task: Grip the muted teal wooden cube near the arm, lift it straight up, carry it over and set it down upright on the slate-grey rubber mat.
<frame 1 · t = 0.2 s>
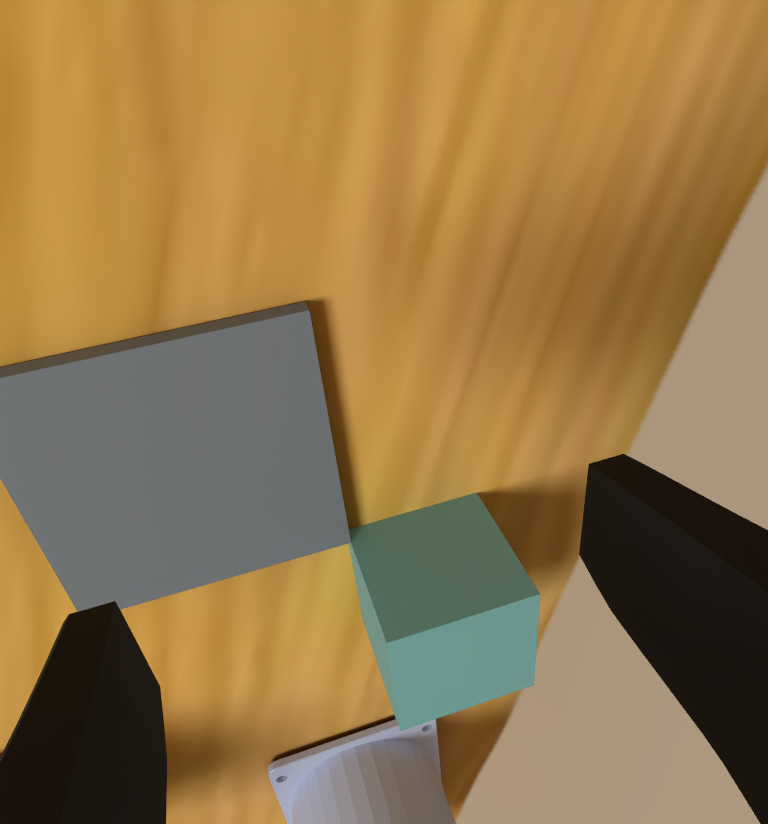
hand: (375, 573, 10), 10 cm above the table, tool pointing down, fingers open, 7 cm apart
slate mat: (184, 467, 20), on the table
teal cube: (416, 556, 25), on the table
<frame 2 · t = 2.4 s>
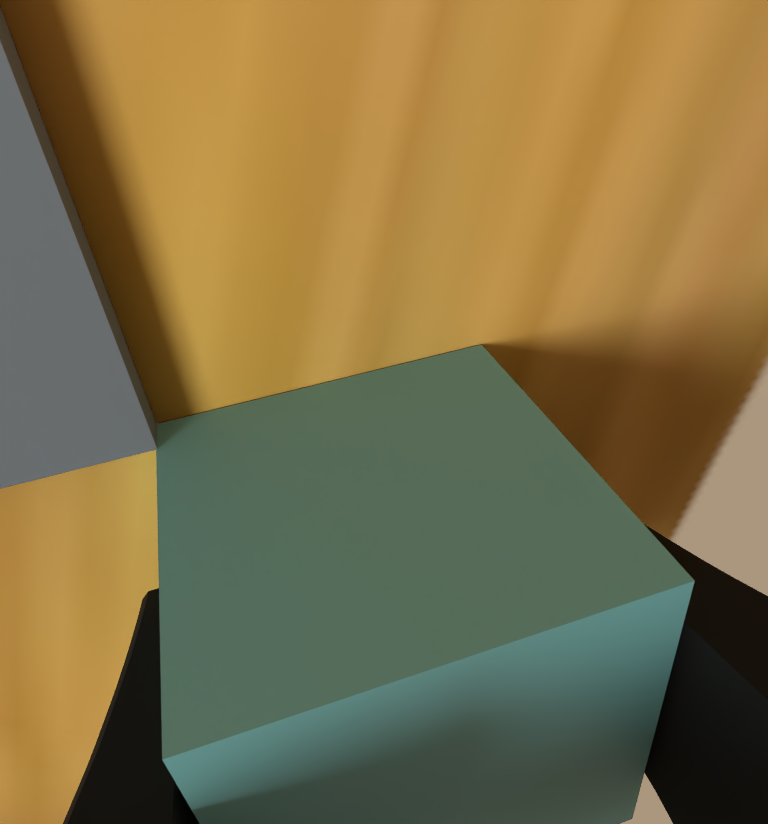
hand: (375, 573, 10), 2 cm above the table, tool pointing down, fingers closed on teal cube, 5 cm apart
teal cube: (348, 504, 11), on the table, touching gripper
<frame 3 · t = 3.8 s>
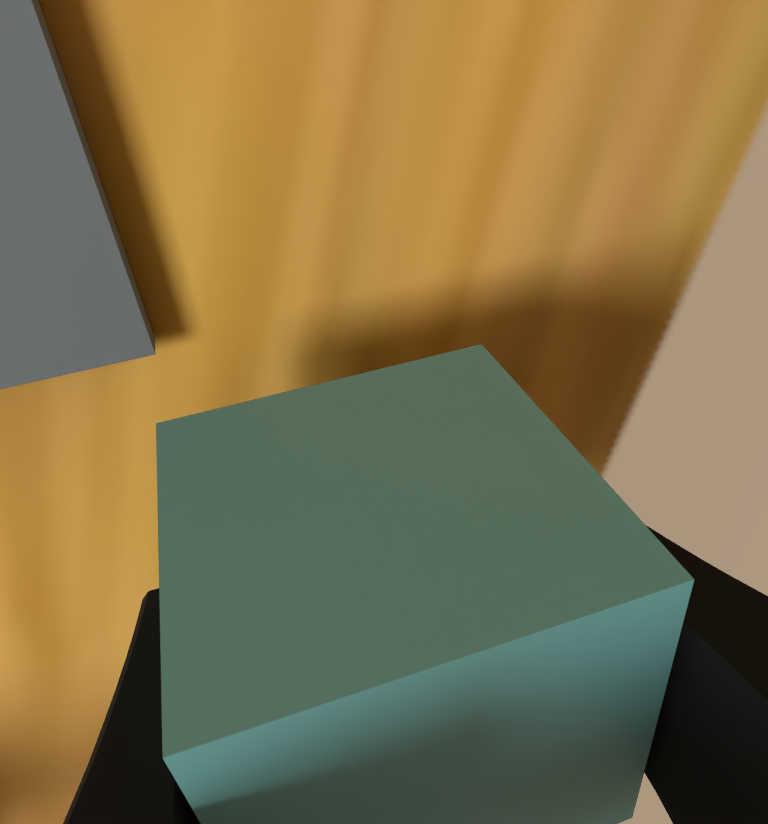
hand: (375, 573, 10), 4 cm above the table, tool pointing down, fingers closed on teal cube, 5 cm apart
teal cube: (348, 504, 11), point 3 cm above the table, touching gripper
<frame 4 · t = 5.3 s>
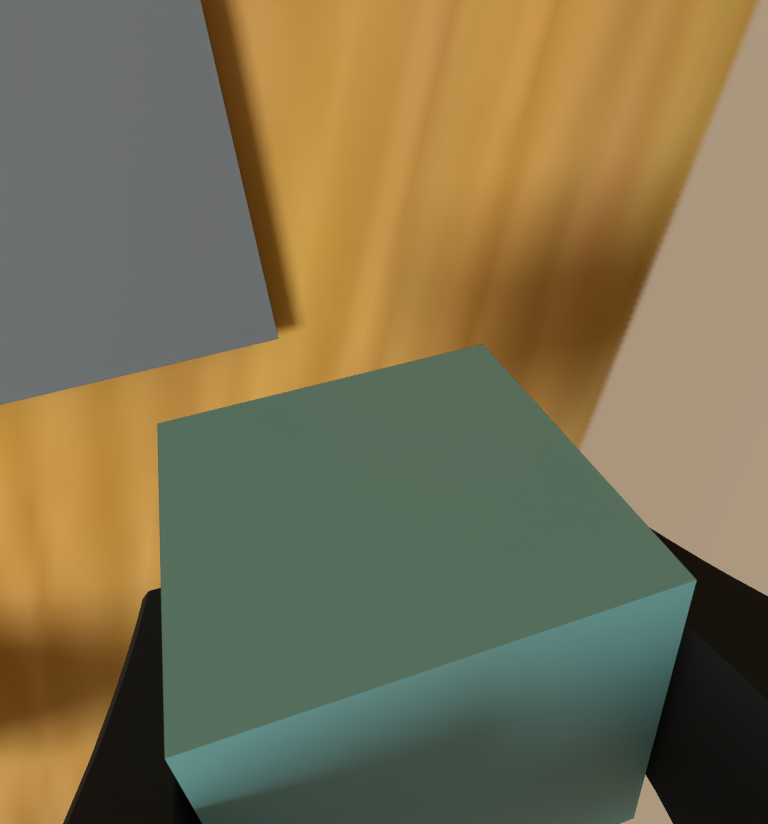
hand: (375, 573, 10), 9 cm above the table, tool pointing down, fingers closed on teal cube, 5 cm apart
slate mat: (13, 184, 13), on the table
teal cube: (349, 504, 11), point 7 cm above the table, touching gripper
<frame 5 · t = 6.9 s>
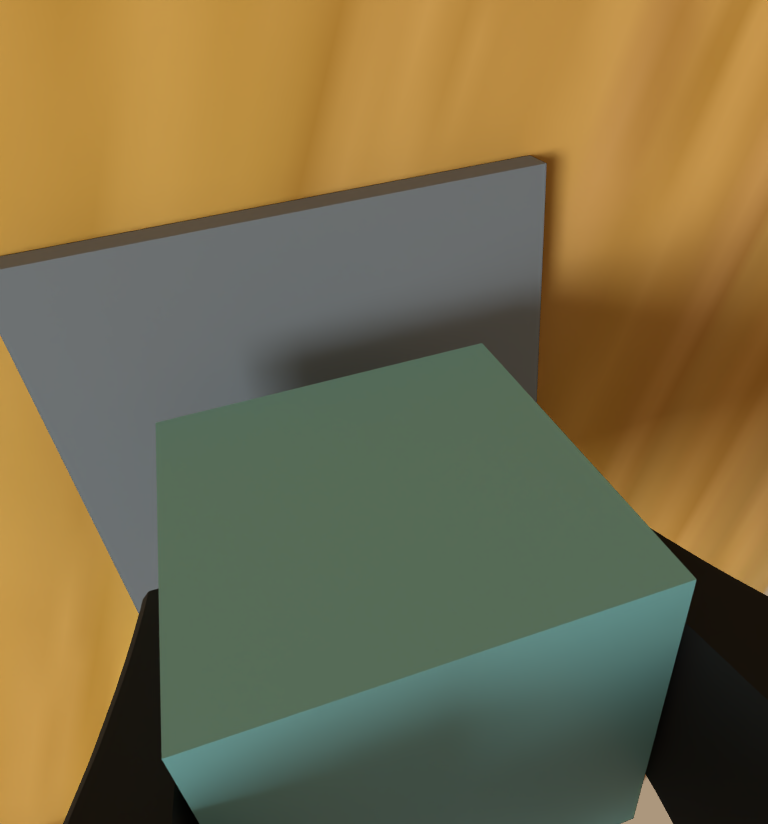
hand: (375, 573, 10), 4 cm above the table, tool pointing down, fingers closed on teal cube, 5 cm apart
slate mat: (319, 426, 13), on the table
teal cube: (348, 503, 11), point 2 cm above the table, touching gripper
when the fingers open (3 cm above the table, at t = 8.0 s): teal cube drops 1 cm, resting on slate mat.
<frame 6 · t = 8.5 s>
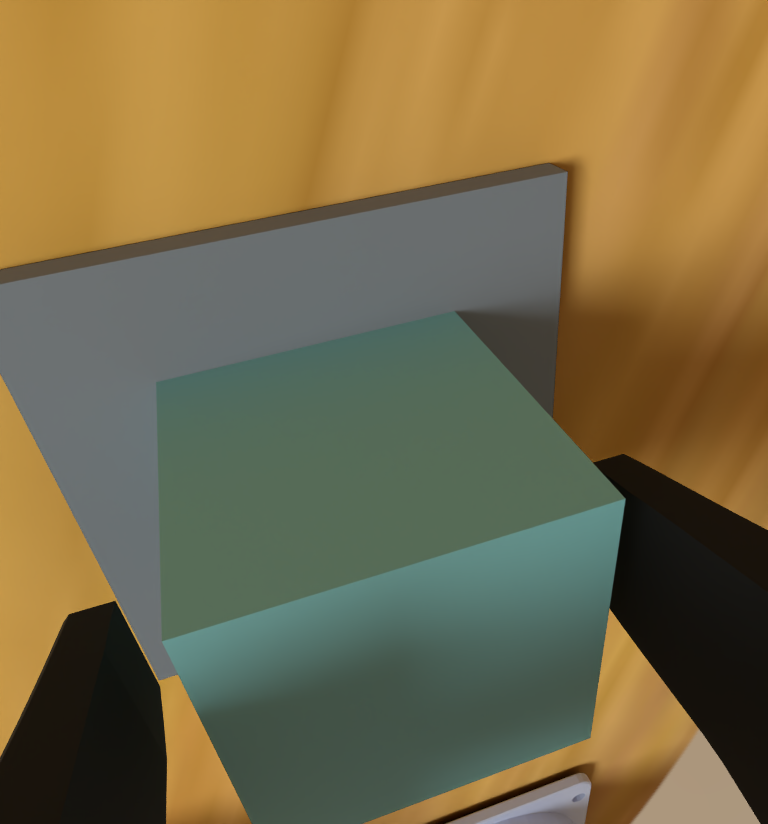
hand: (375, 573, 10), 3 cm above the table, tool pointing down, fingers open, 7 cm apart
slate mat: (326, 444, 13), on the table
teal cube: (334, 462, 12), point 1 cm above the table, touching slate mat
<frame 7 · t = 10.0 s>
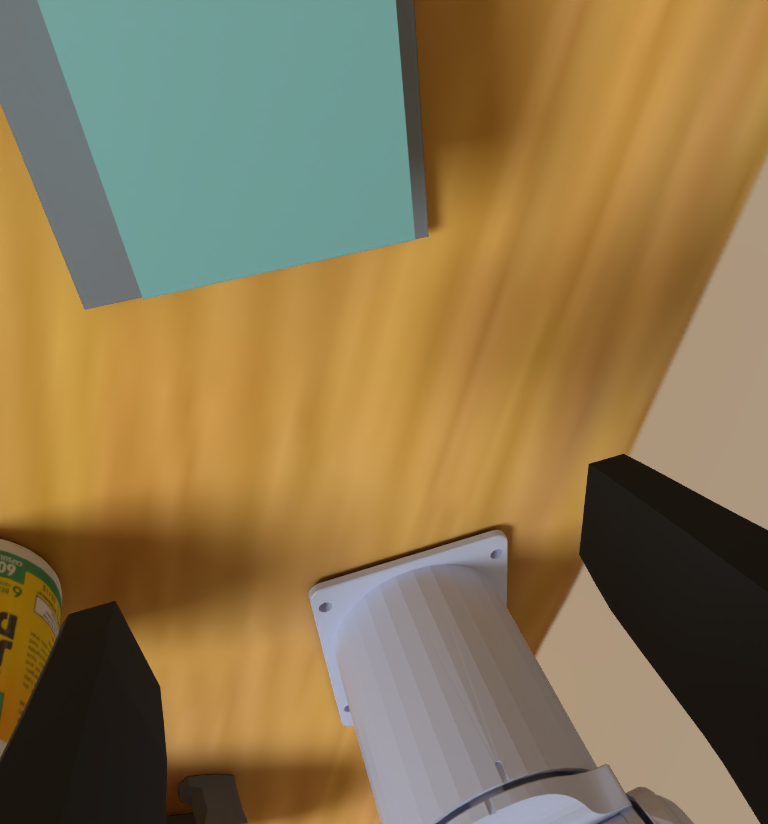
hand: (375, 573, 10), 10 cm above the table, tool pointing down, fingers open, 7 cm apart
slate mat: (219, 75, 15), on the table
teal cube: (223, 78, 14), point 1 cm above the table, touching slate mat
giant panda: (97, 802, 29), on the table
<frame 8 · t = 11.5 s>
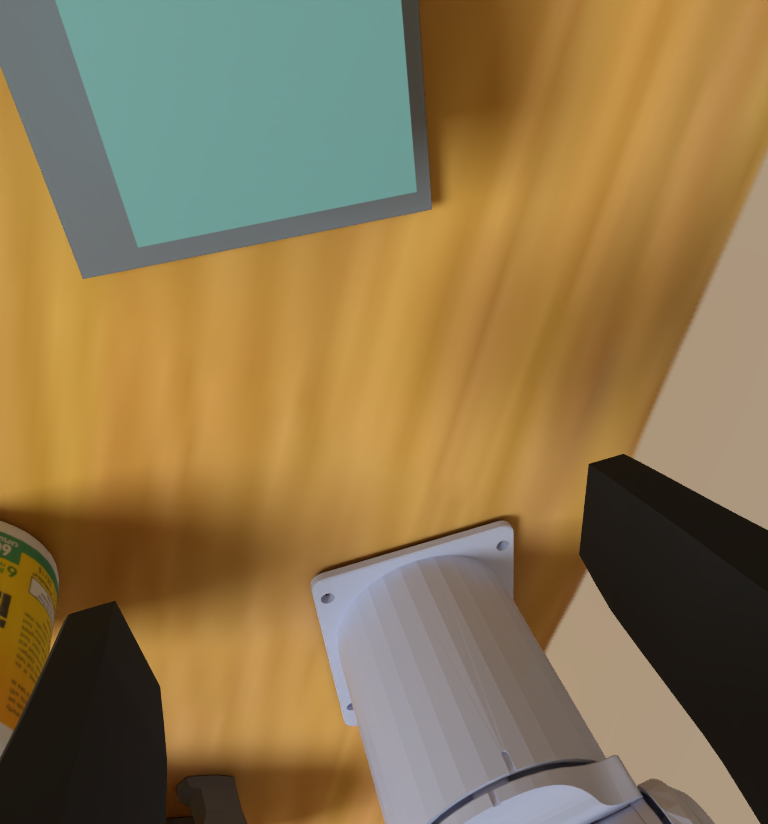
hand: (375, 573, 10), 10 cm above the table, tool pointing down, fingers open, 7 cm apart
slate mat: (220, 39, 15), on the table
teal cube: (223, 40, 14), point 1 cm above the table, touching slate mat
giant panda: (93, 802, 28), on the table
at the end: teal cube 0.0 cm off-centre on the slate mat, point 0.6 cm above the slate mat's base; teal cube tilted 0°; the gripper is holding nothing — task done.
